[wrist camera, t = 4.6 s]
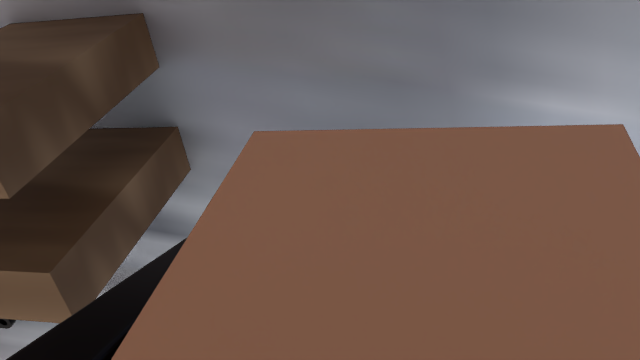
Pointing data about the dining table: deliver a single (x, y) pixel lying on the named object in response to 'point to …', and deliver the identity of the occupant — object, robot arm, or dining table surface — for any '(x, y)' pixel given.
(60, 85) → the domino
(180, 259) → the domino
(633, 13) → the dining table surface
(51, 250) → the domino
